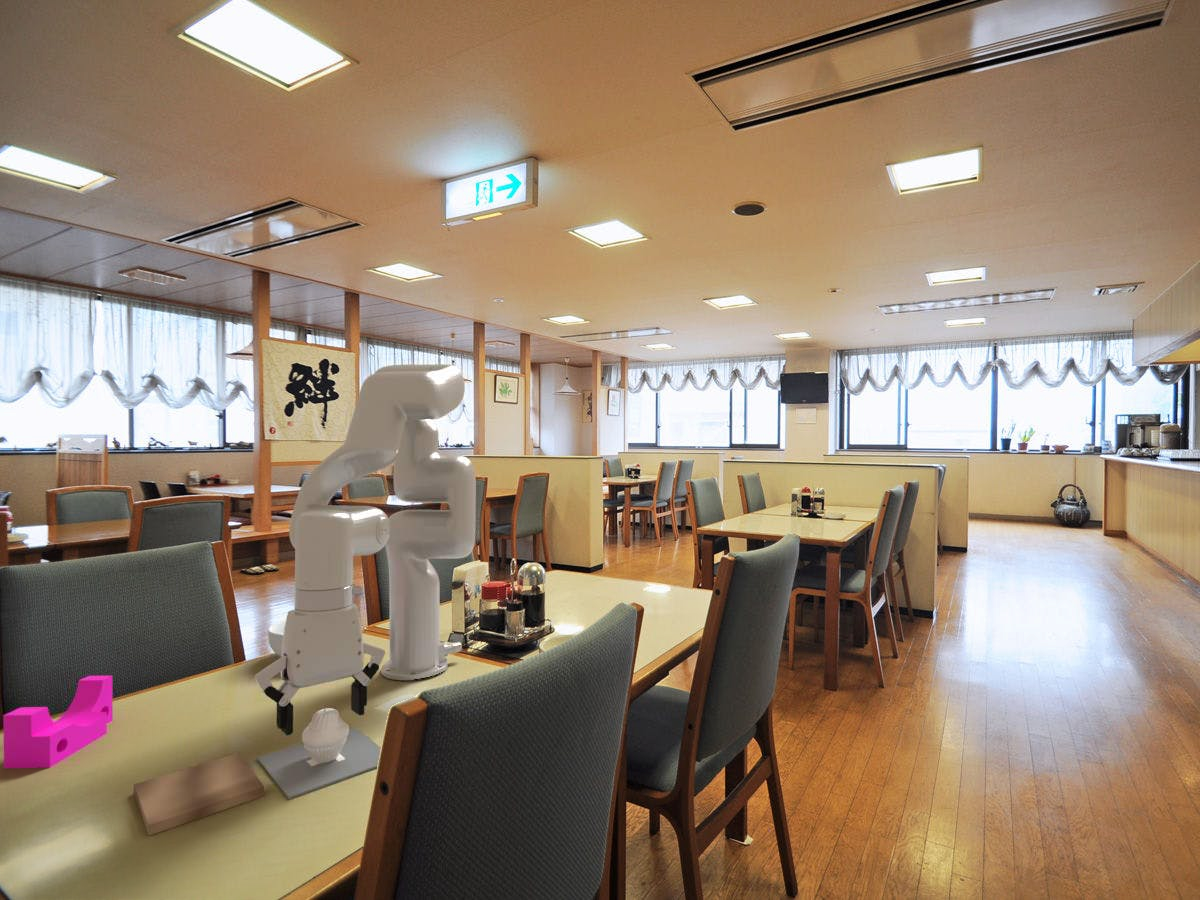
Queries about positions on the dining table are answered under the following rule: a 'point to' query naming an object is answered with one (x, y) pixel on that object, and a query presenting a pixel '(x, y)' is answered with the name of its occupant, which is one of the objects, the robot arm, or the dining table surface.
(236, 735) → the dining table surface
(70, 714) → the magenta cradle bracket
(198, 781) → the walnut pad
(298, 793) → the tile
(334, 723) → the muffin
